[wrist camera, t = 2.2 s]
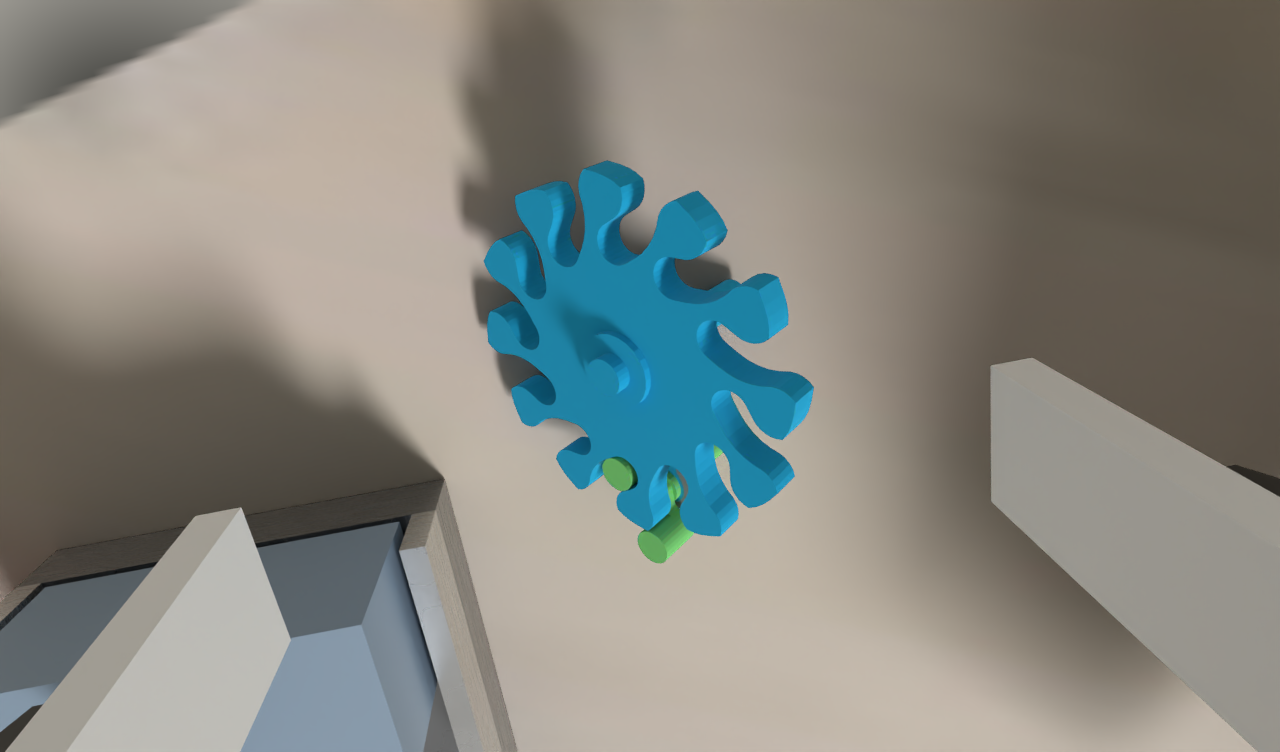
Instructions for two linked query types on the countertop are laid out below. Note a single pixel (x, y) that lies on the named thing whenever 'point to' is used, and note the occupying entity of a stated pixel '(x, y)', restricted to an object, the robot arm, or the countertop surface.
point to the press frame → (437, 575)
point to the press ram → (312, 665)
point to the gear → (644, 357)
